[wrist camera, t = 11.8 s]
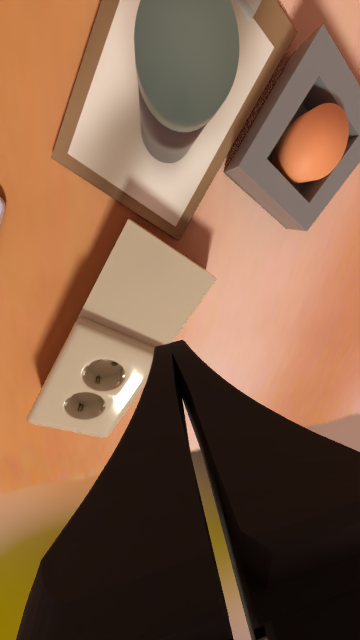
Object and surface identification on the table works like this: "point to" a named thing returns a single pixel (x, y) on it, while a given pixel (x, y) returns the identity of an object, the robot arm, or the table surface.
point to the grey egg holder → (273, 118)
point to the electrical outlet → (120, 333)
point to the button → (312, 144)
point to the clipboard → (124, 114)
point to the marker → (182, 70)
